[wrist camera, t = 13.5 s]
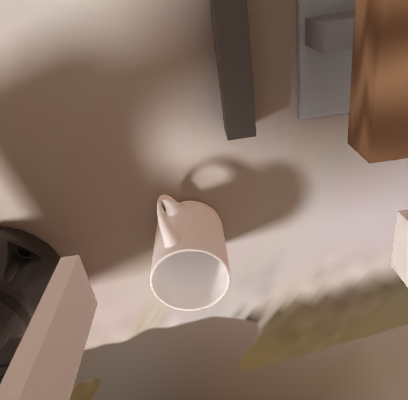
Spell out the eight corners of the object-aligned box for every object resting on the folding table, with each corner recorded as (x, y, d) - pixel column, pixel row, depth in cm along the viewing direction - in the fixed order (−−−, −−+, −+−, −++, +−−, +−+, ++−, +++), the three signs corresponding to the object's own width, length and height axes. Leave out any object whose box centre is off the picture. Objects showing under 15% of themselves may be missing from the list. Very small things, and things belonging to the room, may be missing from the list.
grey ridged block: (298, 117, 42) (317, 138, 36) (296, -77, 34) (320, -92, 27) (386, 104, 42) (421, 123, 36) (407, -95, 33) (457, -115, 27)
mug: (194, 165, 45) (195, 210, 35) (232, 238, 50) (242, 295, 41) (131, 192, 46) (117, 243, 37) (175, 261, 52) (172, 320, 42)
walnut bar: (388, 137, 36) (416, 156, 32) (347, 143, 36) (369, 163, 32) (417, -127, 27) (462, -150, 22) (361, -117, 27) (395, -139, 22)
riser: (224, 128, 43) (227, 140, 39) (202, -62, 34) (204, -68, 30) (250, 124, 42) (256, 136, 39) (235, -67, 34) (241, -74, 30)
